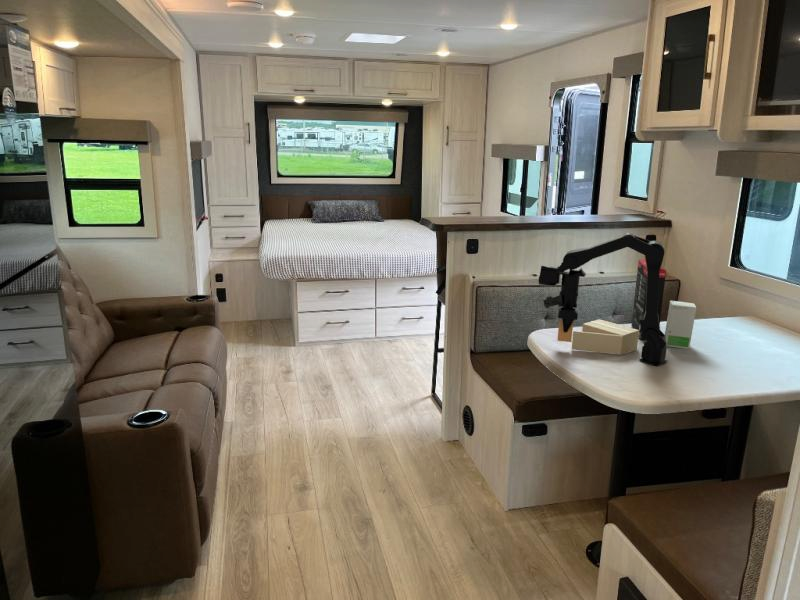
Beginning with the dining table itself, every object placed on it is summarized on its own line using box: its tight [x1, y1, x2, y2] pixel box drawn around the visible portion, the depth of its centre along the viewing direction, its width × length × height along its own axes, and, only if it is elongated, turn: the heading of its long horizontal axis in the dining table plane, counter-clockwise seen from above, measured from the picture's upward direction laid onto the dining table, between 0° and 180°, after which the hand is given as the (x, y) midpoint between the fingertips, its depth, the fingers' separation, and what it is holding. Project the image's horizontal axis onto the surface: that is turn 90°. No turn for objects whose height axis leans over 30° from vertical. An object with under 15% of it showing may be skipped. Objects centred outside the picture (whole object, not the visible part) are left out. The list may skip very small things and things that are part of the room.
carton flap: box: [557, 320, 623, 356], centre depth 203 cm, size 21×1×10 cm, turn 74°
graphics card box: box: [631, 259, 667, 341], centre depth 221 cm, size 17×7×27 cm, turn 171°
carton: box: [581, 319, 639, 356], centre depth 209 cm, size 16×10×7 cm, turn 38°
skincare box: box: [664, 300, 697, 350], centre depth 210 cm, size 8×7×16 cm
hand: (565, 331), depth 204 cm, fingers closed
